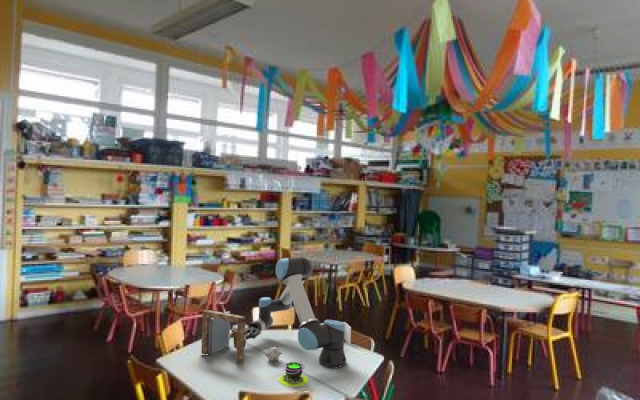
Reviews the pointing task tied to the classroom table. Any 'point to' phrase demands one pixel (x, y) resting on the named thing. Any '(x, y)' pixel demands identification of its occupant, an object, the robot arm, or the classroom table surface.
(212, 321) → the door
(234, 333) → the disposable coffee cup
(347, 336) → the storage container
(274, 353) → the game die
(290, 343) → the classroom table surface
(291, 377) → the toy cauldron
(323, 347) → the robot arm
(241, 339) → the door frame
